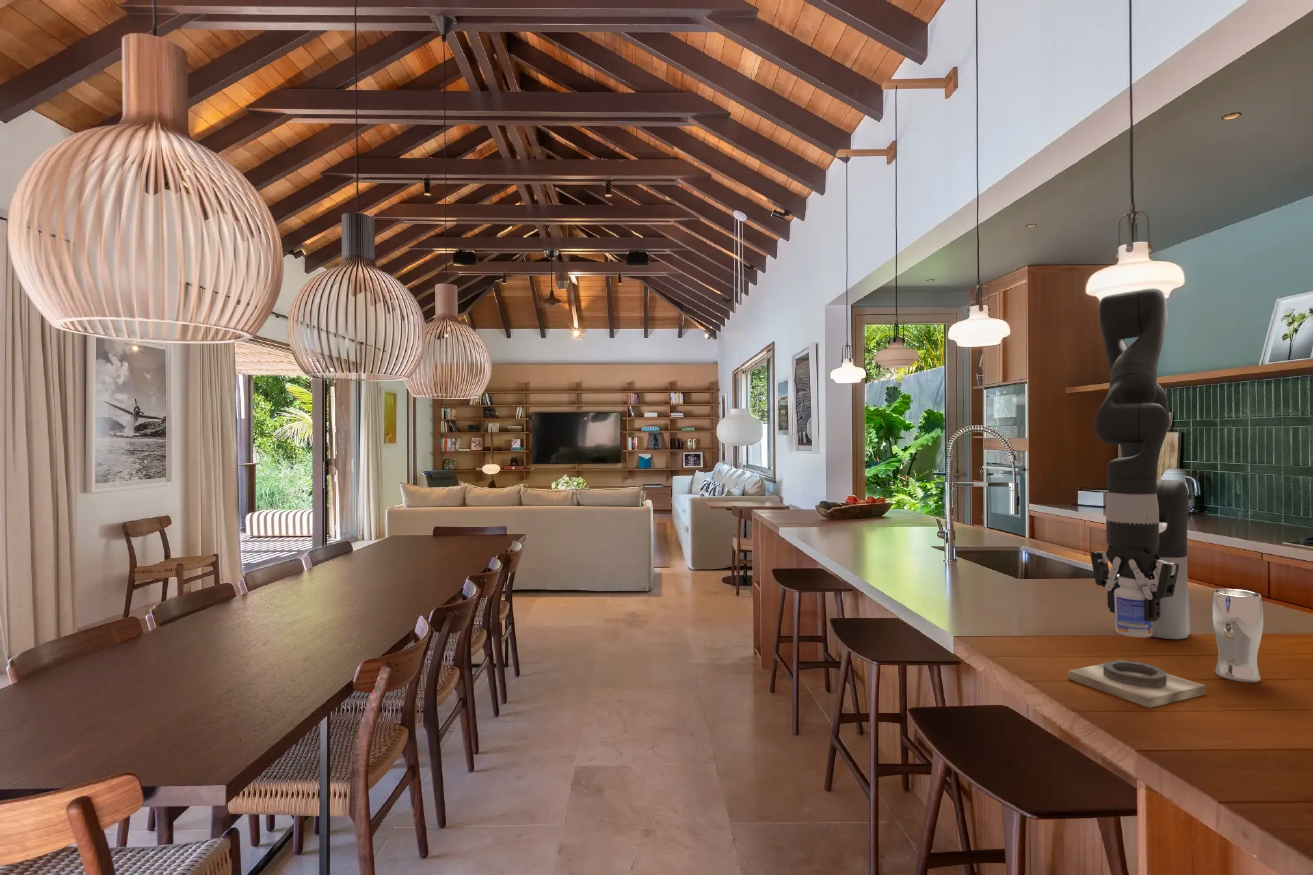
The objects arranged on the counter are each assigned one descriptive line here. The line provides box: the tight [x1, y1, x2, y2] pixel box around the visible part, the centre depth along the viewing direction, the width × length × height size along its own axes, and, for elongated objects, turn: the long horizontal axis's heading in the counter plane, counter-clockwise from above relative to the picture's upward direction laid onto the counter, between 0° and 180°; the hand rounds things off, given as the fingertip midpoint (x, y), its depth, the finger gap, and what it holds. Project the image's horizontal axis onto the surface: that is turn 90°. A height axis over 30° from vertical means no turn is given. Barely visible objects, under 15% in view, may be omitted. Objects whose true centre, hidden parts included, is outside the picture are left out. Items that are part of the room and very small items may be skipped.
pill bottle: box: [1114, 576, 1153, 638], centre depth 118 cm, size 5×5×10 cm
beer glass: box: [1211, 588, 1264, 683], centre depth 122 cm, size 7×7×15 cm
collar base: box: [1067, 659, 1207, 709], centre depth 118 cm, size 14×14×3 cm
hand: (1133, 616), depth 118 cm, fingers closed on pill bottle, 5 cm apart
